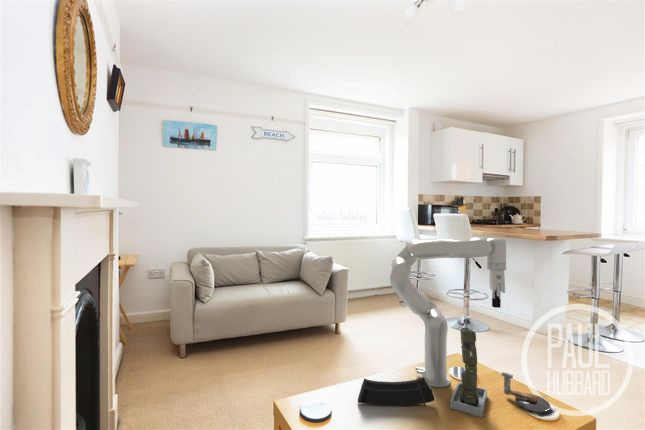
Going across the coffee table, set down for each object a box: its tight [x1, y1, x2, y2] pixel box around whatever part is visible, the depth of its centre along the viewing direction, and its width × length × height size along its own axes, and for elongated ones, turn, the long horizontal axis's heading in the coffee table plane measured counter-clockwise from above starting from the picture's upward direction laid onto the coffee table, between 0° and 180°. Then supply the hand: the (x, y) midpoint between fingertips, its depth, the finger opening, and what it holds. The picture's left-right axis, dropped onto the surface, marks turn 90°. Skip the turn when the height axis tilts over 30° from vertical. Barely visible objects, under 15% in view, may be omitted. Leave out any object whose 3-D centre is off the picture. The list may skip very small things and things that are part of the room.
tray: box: [449, 382, 488, 419], centre depth 142 cm, size 12×17×3 cm
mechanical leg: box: [459, 327, 479, 407], centre depth 142 cm, size 14×7×30 cm, turn 167°
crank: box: [501, 371, 538, 403], centre depth 143 cm, size 13×4×8 cm, turn 54°
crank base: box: [514, 392, 551, 415], centre depth 140 cm, size 12×12×2 cm
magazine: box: [357, 377, 435, 407], centre depth 141 cm, size 17×3×30 cm
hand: (496, 306), depth 155 cm, fingers closed
